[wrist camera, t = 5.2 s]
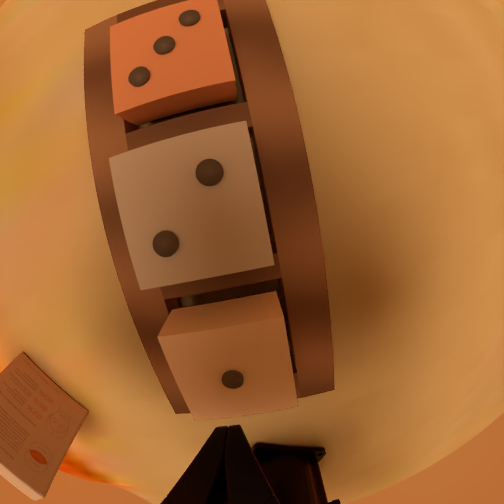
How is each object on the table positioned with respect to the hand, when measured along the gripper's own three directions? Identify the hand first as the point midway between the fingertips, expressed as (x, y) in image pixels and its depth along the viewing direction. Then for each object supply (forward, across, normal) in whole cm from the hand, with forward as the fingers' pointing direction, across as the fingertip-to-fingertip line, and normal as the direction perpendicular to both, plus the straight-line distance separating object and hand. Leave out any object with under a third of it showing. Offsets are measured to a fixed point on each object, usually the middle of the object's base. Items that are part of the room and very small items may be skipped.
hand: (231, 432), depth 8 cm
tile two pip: (+6, 0, -7) cm, 9 cm away
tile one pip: (+6, 0, 0) cm, 6 cm away
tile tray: (+8, 0, -7) cm, 11 cm away
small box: (+8, +19, +5) cm, 21 cm away
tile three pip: (+7, 0, -14) cm, 16 cm away
